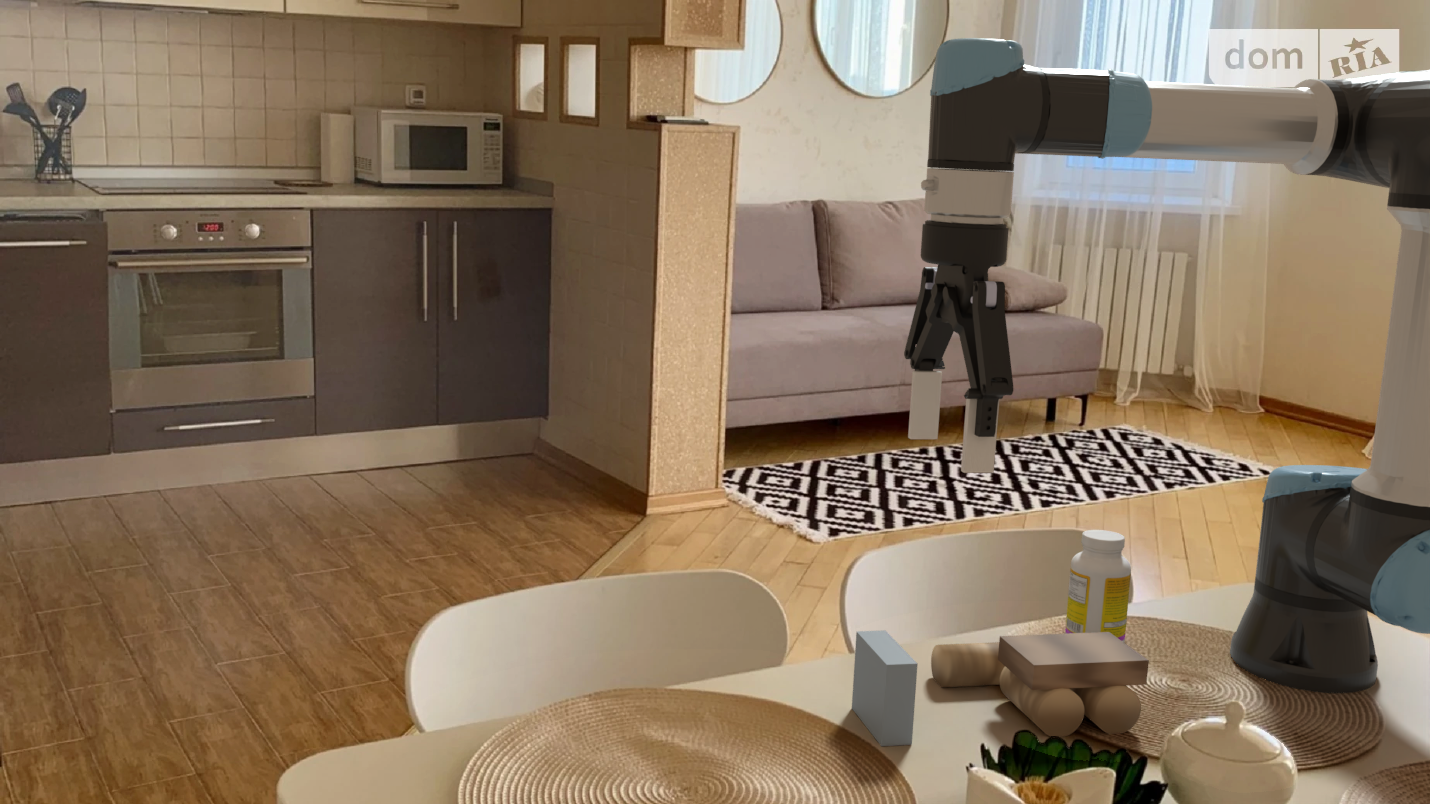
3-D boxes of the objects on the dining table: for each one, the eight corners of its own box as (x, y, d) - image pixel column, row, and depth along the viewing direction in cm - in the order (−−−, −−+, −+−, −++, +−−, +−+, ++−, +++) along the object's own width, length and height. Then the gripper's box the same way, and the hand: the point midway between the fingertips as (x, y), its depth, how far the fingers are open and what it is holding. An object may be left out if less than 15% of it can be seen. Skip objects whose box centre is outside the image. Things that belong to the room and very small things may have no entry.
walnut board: (1106, 655, 144) (1108, 631, 144) (1146, 684, 137) (1148, 660, 136) (997, 659, 142) (999, 636, 141) (1031, 690, 134) (1034, 665, 134)
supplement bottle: (1128, 639, 163) (1138, 532, 161) (1119, 657, 157) (1130, 546, 155) (1070, 629, 166) (1079, 523, 164) (1058, 646, 160) (1068, 537, 158)
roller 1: (1017, 673, 151) (1020, 635, 150) (1034, 690, 147) (1038, 650, 146) (929, 677, 149) (932, 638, 148) (945, 694, 145) (948, 654, 144)
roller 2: (997, 702, 143) (1001, 657, 142) (1041, 699, 144) (1045, 655, 143) (1035, 738, 135) (1040, 691, 134) (1081, 736, 136) (1086, 689, 135)
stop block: (880, 706, 140) (885, 630, 139) (911, 744, 132) (917, 663, 130) (851, 708, 140) (856, 631, 138) (881, 746, 131) (886, 664, 130)
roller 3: (1051, 699, 145) (1056, 655, 144) (1094, 697, 146) (1099, 653, 145) (1093, 735, 136) (1098, 688, 135) (1138, 733, 137) (1143, 686, 136)
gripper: (880, 210, 135) (867, 426, 139) (980, 227, 111) (960, 488, 115) (954, 212, 137) (938, 426, 141) (1068, 230, 113) (1045, 487, 117)
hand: (948, 454), depth 128 cm, fingers open, 13 cm apart
